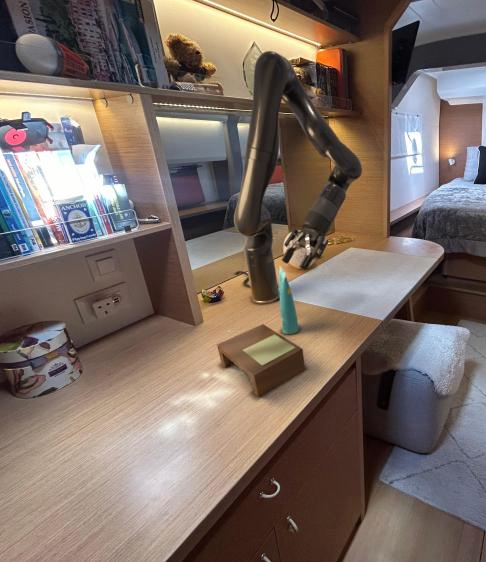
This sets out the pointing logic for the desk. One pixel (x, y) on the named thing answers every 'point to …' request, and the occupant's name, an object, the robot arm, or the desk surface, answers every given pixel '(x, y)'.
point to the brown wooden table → (263, 357)
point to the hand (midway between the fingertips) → (293, 265)
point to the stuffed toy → (296, 255)
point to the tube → (287, 306)
